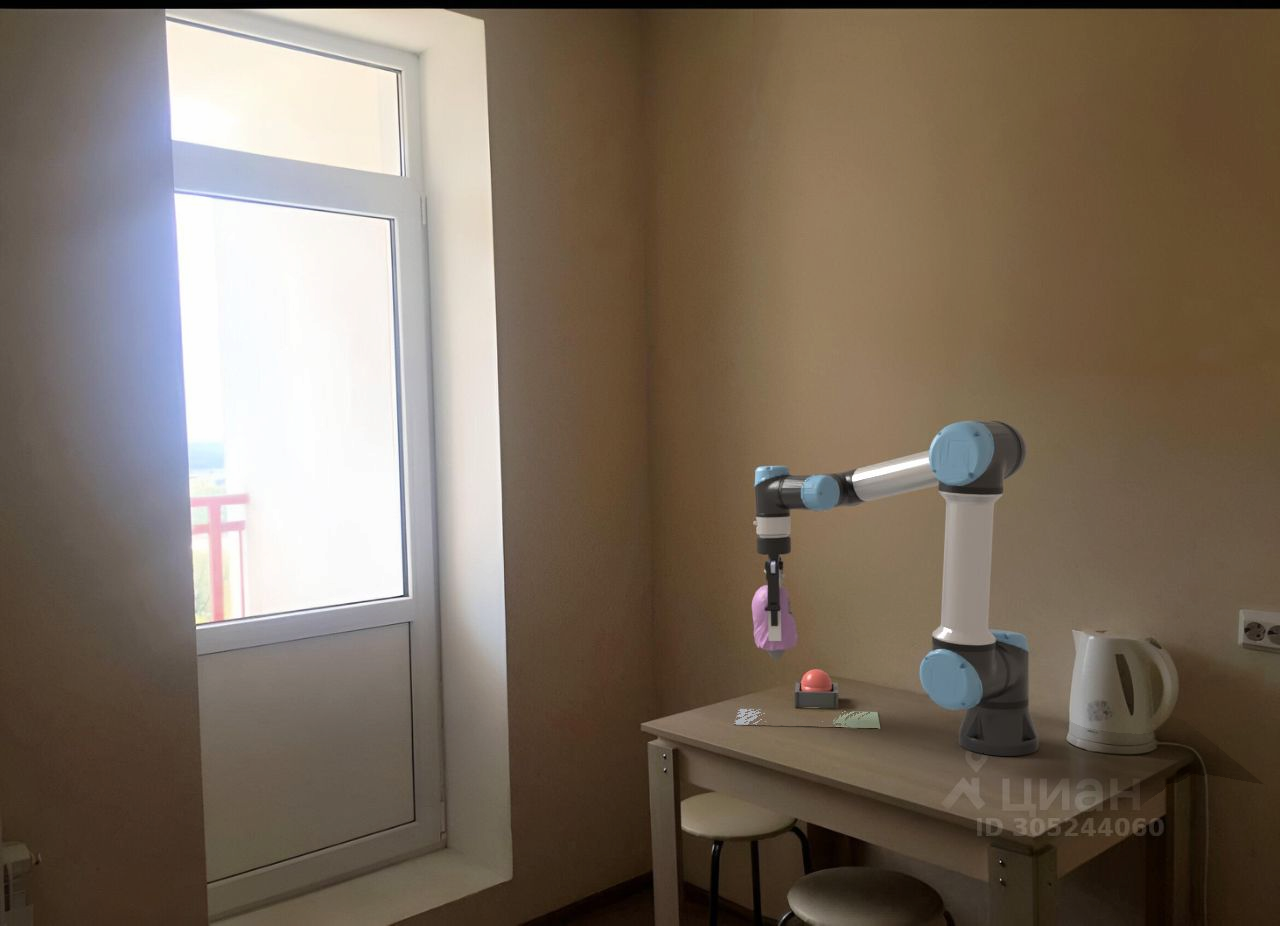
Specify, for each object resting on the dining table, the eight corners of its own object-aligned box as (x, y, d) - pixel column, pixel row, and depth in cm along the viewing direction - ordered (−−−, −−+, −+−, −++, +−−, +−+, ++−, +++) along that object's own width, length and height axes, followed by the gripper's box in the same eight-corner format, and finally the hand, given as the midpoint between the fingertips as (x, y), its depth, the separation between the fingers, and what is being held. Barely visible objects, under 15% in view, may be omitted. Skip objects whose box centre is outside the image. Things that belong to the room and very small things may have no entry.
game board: (880, 729, 224) (880, 728, 224) (734, 725, 229) (734, 724, 229) (877, 712, 237) (877, 712, 237) (739, 709, 242) (739, 708, 242)
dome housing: (838, 709, 241) (838, 692, 241) (794, 708, 242) (794, 692, 242) (837, 698, 250) (837, 682, 250) (796, 697, 252) (795, 682, 252)
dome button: (832, 703, 242) (831, 673, 242) (801, 702, 244) (800, 672, 243) (831, 696, 249) (831, 666, 249) (801, 695, 250) (801, 666, 250)
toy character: (803, 661, 227) (801, 569, 227) (755, 663, 227) (753, 570, 227) (796, 650, 239) (793, 562, 239) (750, 651, 240) (748, 564, 239)
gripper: (759, 531, 245) (761, 626, 245) (753, 540, 222) (756, 645, 223) (791, 530, 244) (794, 626, 244) (789, 540, 221) (791, 646, 222)
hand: (776, 636), depth 233 cm, fingers closed on toy character, 10 cm apart
